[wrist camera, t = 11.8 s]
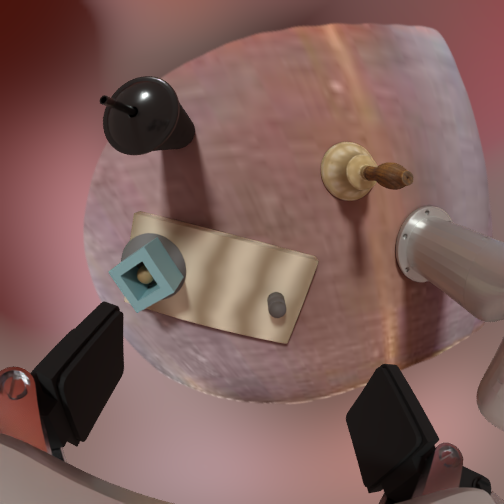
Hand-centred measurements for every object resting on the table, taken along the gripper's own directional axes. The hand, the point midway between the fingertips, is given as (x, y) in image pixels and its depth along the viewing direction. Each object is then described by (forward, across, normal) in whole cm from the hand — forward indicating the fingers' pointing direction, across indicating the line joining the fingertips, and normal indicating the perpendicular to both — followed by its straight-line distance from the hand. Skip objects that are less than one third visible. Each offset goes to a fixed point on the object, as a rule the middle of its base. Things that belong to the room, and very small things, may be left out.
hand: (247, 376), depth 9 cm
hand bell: (+30, -11, -10) cm, 34 cm away
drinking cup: (+30, +13, -9) cm, 34 cm away
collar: (+27, +12, +10) cm, 31 cm away
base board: (+30, +4, +10) cm, 31 cm away
